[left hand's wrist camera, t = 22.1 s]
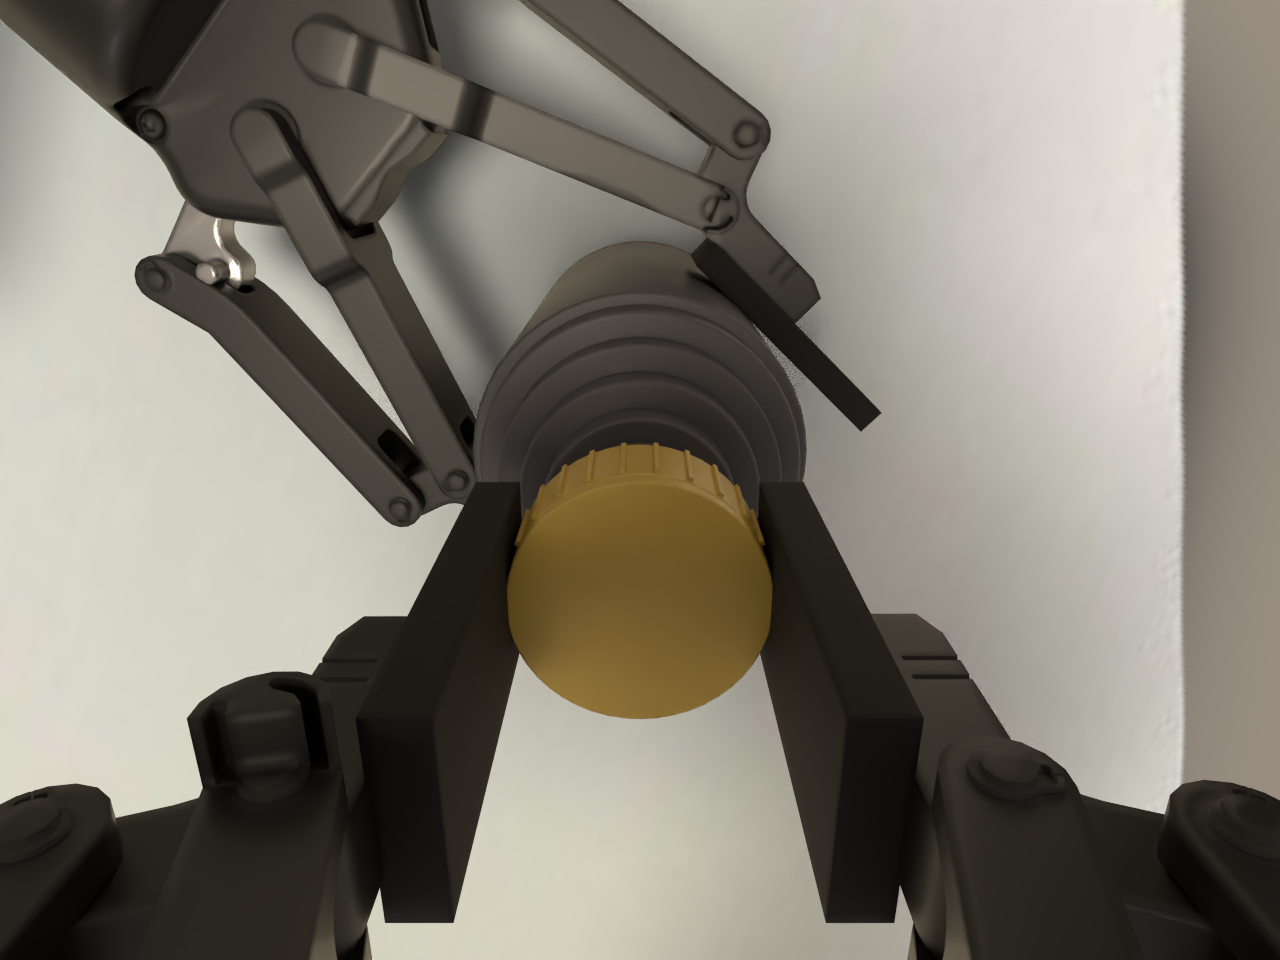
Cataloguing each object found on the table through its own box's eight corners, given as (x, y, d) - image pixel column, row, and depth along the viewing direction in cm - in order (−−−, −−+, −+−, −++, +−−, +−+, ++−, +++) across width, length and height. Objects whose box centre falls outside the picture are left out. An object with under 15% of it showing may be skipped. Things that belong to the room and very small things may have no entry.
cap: (527, 425, 14) (511, 462, 12) (783, 455, 14) (803, 496, 12) (509, 647, 15) (492, 707, 14) (740, 671, 16) (752, 734, 14)
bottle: (671, 196, 29) (717, 245, 12) (784, 379, 31) (954, 638, 14) (492, 320, 30) (306, 519, 13) (611, 486, 32) (581, 833, 16)
